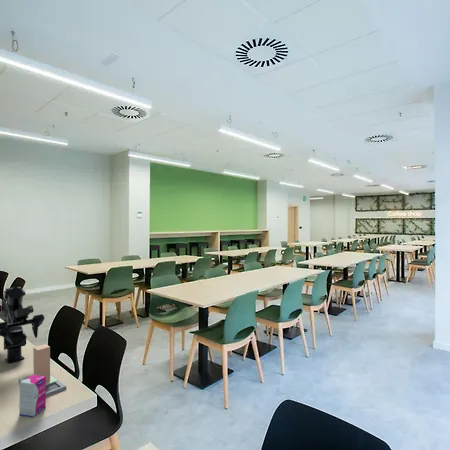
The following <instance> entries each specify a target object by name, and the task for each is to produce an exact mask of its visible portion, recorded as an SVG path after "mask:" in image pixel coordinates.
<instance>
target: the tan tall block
mask: <svg viewBox="0 0 450 450" xmlns="http://www.w3.org/2000/svg"><path fill="white" fill-rule="evenodd" d="M32 351H33V359H32V360H33V374H34V375H38V376H46V383H47V382H50V374H51V346H49V345H48V344H45V343H44V344H40V345H36V346H34V347H33V349H32Z"/></svg>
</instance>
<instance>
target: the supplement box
mask: <svg viewBox="0 0 450 450" xmlns="http://www.w3.org/2000/svg"><path fill="white" fill-rule="evenodd" d="M31 375H32V376H30V375H29V376H30V377H28V378H26V379H25V380H23V381H21V382H19V405H18V407H19V411H18V412H19V414H18V415H19V416H20V417H27V418H34V417H35V416H37V415H38V414H39V413H42V411H43V410H45V409H46V402H47V401H46V400H47V397H46V376H38V375H33V374H31Z"/></svg>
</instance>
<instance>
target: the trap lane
mask: <svg viewBox="0 0 450 450" xmlns="http://www.w3.org/2000/svg"><path fill="white" fill-rule="evenodd" d="M32 375H34V373H33V374H30V375H27V376H25V377H21V378H19V379H18V382H19V383H20V382H21V381H23V380H25V379H26V378H28V377H30V376H32ZM64 390H67V385H66V384H64V383H63V382H62V381H60V380H59V379H58V378H56V377H55V376H54V375H52V374H51V373H50V382H47V383H46V398H47V397H50V396H51V395H54V394H57V393H60V392H62V391H64Z"/></svg>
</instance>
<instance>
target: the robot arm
mask: <svg viewBox="0 0 450 450" xmlns="http://www.w3.org/2000/svg"><path fill="white" fill-rule="evenodd" d="M25 295H26V291H25V290H24V289H23V288H22V287H21V286H12V287H7V288H5V290H4V291H3V299H2V300H1V302H0V304H1V306H0V308H1V313H2V314H3V315H2V316H3V317H5V318H6V320H7V321H3V322H2V321H0V337H3V351H6V353H7V354H6V355H7V356H6V357H5V358H4V361H5V362H6V363H7V364H12V363H15V362H18V361H21V360H25V356H24V355H22V347H25V346H26V345H27V340H28V338H27V337H28V336H27V334H26V333H25V332H24V329H23V327H22V326H26V325H30V324H31V326H32V327H31V328H32V333H33V335H34V338H35V339H37V338H38V332H39V327H40V326H41V325H43V322H44V321H45V315H44V314H42V313H40V314H35V315H33V316H32V318H31V319H29V315H30V314H32V313H34V311H35V310H34V306H33V305H32V304H31V305H27V307H24V306H23V297H24V296H25Z"/></svg>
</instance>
